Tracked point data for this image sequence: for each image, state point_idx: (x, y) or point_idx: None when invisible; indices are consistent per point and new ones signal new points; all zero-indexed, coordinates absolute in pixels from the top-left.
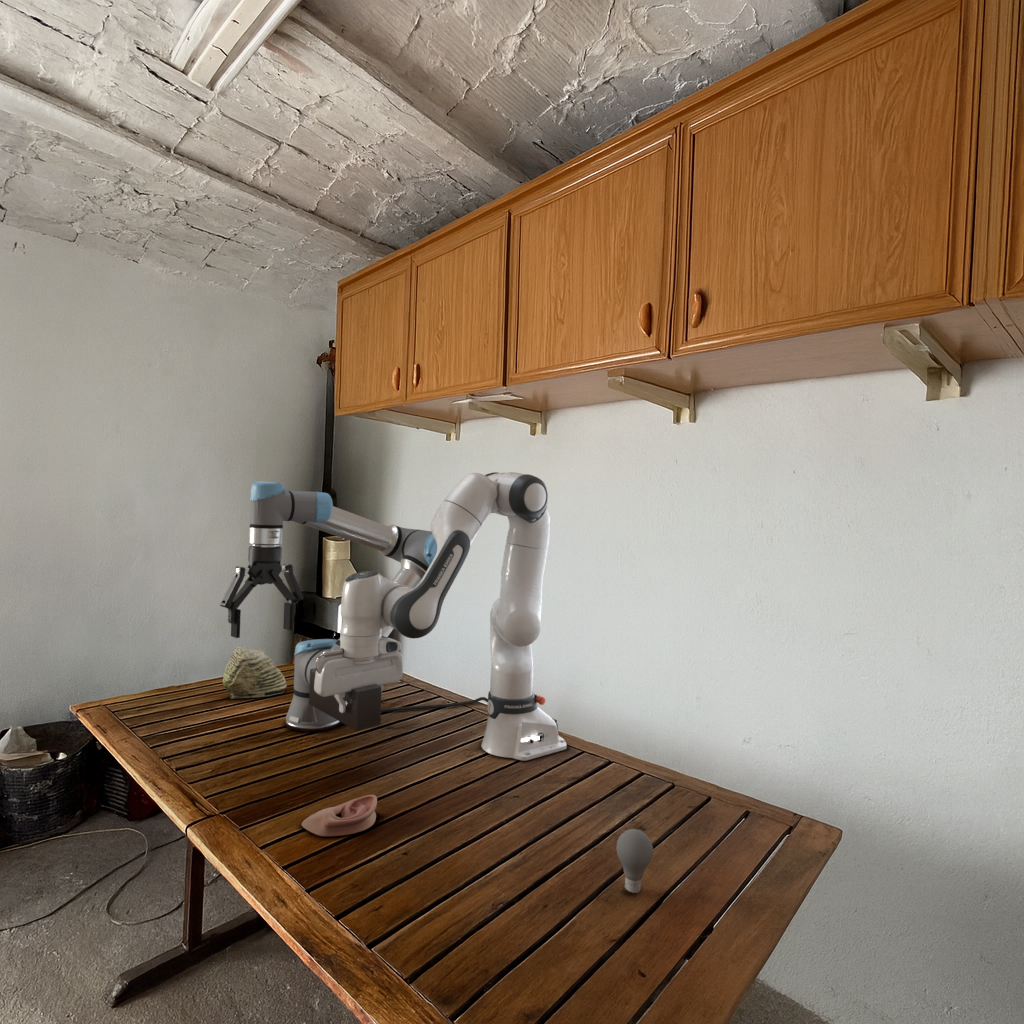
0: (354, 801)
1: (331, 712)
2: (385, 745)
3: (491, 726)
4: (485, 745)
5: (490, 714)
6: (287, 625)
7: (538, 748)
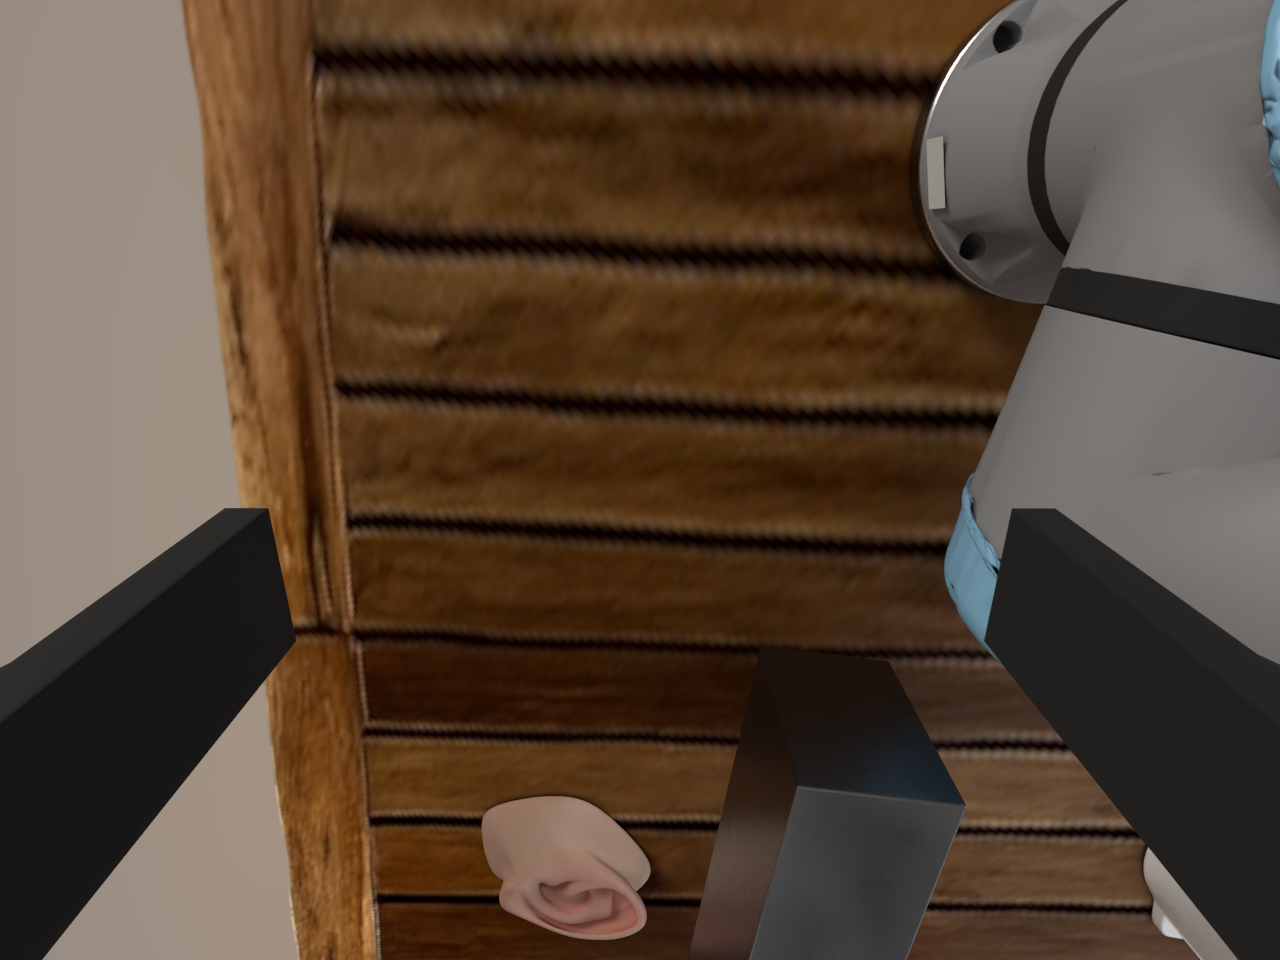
0: (602, 887)
1: (719, 844)
2: None
3: None
4: None
5: None
6: (1020, 634)
7: None
